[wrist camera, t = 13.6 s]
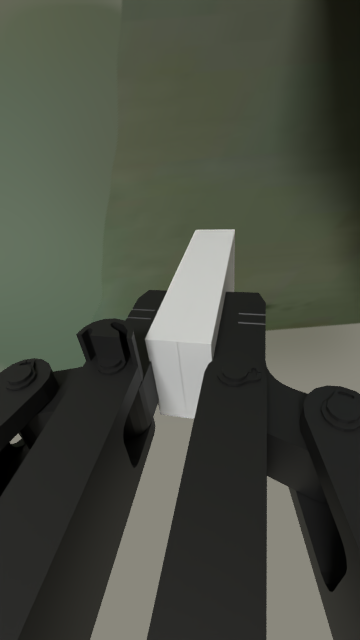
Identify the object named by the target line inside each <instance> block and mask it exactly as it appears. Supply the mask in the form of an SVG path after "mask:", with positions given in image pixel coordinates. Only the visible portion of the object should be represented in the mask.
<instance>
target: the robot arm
mask: <svg viewBox="0 0 360 640" xmlns="http://www.w3.org/2000/svg"><path fill="white" fill-rule="evenodd" d="M234 260H235V230H196V231H195V233H194V235H193V237H192V239H191V241H190V243H189V246H188V248H187V250H186V252H185V254H184V256H183V258H182V261H181V263H180V265H179V267H178V269H177V271H176V273H175V276H174V278H173V280H172V282H171V284H170V286H169V289H168V291H161V290H149V291H147V292H146V293H145V294H143V295H142V296H141V297H139V298H138V300H137V302H136V303H135V305H134V307H133V310H131V312H130V314H129V315H128V318H127V319H126V321H124V320H120V319H115V318H114V319H103V320H99V321H96V322H93V323H91V324H89V325H87V326H86V327H84V328H83V329H82V330H81V331H79V332H78V334H77V337H78V340H79V342H80V345H81V348H82V351H83V353H84V356H85V359H86V362H85V364H84V366H83V367H79V368H74V369H67V370H61V371H55V372H53V371H52V369H51V367H50V365H49V363H47V362H46V361H44V360H42V359H35V358H34V359H27V360H23V361H20V362H17V363H15V364H12V365H11V366H9V367H8V368H7V369H5V370H3V371H2V372H1V373H0V640H90V638H91V634H92V631H93V628H94V625H95V622H96V618H97V615H98V612H99V609H100V606H101V602H102V599H103V596H104V593H105V590H106V586H107V583H108V580H109V577H110V573H111V570H112V567H113V564H114V561H115V558H116V554H117V551H118V548H119V545H120V541H121V538H122V535H123V532H124V529H125V526H126V522H127V519H128V516H129V513H130V509H131V506H132V503H133V500H134V497H135V494H136V490H137V487H138V484H139V481H140V477H141V474H142V471H143V468H144V465H145V461H146V458H147V455H148V452H149V449H150V446H151V442H152V439H153V436H154V432H155V422H154V418H153V416H154V413H155V410H156V407H157V404H158V405H159V410H160V414H163V415H170V416H177V417H185V418H193V419H194V423H193V427H192V432H191V437H190V441H189V446H188V451H187V455H186V460H185V465H184V469H183V474H182V478H181V483H180V488H179V493H178V497H177V502H176V506H175V511H174V516H173V520H172V525H171V530H170V534H169V539H168V543H167V548H166V553H165V557H164V562H163V567H162V572H161V576H160V581H159V585H158V590H157V595H156V600H155V604H154V609H153V613H152V618H151V623H150V627H149V632H148V636H147V640H266V558H267V557H266V552H267V550H266V549H267V548H266V546H267V544H266V542H267V541H266V540H267V514H266V513H267V476H269V477H271V478H273V479H275V480H277V481H279V482H280V483H282V484H284V485H287V486H288V487H289V490H290V493H291V497H292V500H293V503H294V507H295V510H296V514H297V517H298V520H299V524H300V527H301V531H302V534H303V538H304V541H305V544H306V548H307V551H308V555H309V558H310V561H311V565H312V568H313V572H314V575H315V579H316V582H317V585H318V589H319V592H320V595H321V599H322V602H323V606H324V609H325V612H326V616H327V619H328V623H329V626H330V629H331V633H332V636H333V640H360V394H359V393H357V392H356V391H353V390H350V389H347V388H344V387H340V386H339V387H338V386H324V387H320V388H316V389H314V390H313V391H312V392H310V393H309V394H306V393H303V392H301V391H298V390H295V389H292V388H290V387H288V386H286V385H284V384H282V383H280V382H279V381H278V380H276V379H275V378H274V377H273V376H272V375H271V374H270V372H269V370H268V369H267V367H266V361H265V309H266V303H265V301H264V300H263V298H262V297H261V296H260V294H259V293H248V292H234ZM18 433H19V435H20V436H21V437H22V439H21V440H20V441H18V442H17V443H14V444H10V441H11V440H12V439H13V438H14V437H15V436H16V435H17V434H18Z"/></svg>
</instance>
